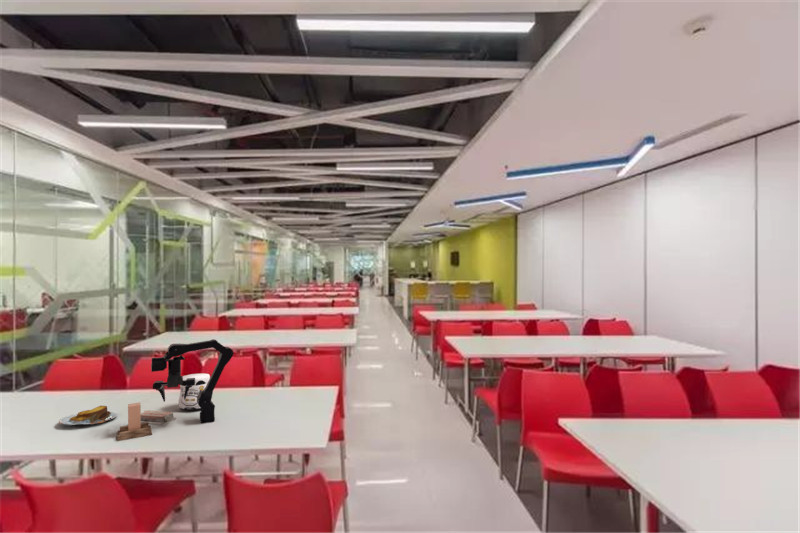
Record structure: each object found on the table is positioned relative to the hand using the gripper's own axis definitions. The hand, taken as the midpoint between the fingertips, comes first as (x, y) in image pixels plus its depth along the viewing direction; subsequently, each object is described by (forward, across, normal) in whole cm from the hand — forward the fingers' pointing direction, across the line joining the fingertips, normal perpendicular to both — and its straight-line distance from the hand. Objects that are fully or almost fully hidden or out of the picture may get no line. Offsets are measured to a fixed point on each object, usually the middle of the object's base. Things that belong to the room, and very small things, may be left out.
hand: (174, 400), depth 223 cm
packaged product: (+14, -11, +14) cm, 22 cm away
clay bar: (+12, -17, -4) cm, 21 cm away
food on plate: (+14, -44, +26) cm, 53 cm away
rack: (+13, -17, -4) cm, 22 cm away
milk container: (+13, +7, +30) cm, 34 cm away
